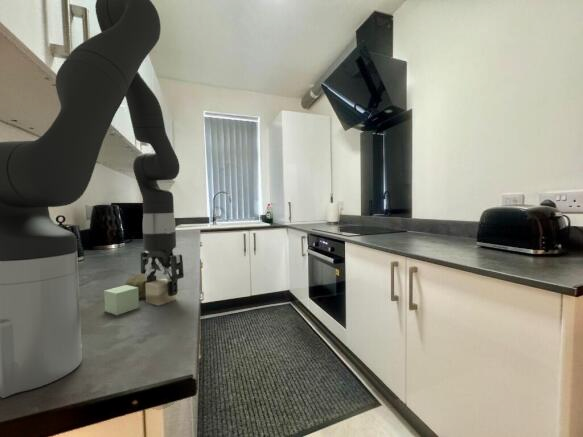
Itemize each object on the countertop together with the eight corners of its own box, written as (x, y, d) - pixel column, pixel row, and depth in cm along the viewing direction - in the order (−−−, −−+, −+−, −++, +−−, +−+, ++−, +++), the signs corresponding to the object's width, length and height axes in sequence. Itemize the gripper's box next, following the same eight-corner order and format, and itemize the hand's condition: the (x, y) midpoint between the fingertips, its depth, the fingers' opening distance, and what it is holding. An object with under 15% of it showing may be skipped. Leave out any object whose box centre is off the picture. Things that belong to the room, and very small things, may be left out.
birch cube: (158, 306, 64) (157, 285, 64) (146, 302, 66) (145, 283, 66) (175, 299, 68) (175, 280, 68) (163, 296, 70) (163, 278, 70)
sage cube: (116, 315, 58) (115, 293, 58) (105, 311, 61) (104, 290, 60) (138, 308, 63) (138, 287, 62) (127, 304, 65) (126, 284, 65)
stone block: (124, 302, 67) (123, 283, 67) (132, 289, 78) (131, 273, 78) (149, 298, 70) (148, 280, 69) (153, 287, 80) (153, 271, 80)
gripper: (128, 231, 67) (131, 293, 68) (163, 233, 60) (166, 302, 61) (156, 228, 73) (158, 285, 74) (190, 230, 66) (192, 292, 67)
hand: (162, 292), depth 67 cm, fingers open, 8 cm apart
